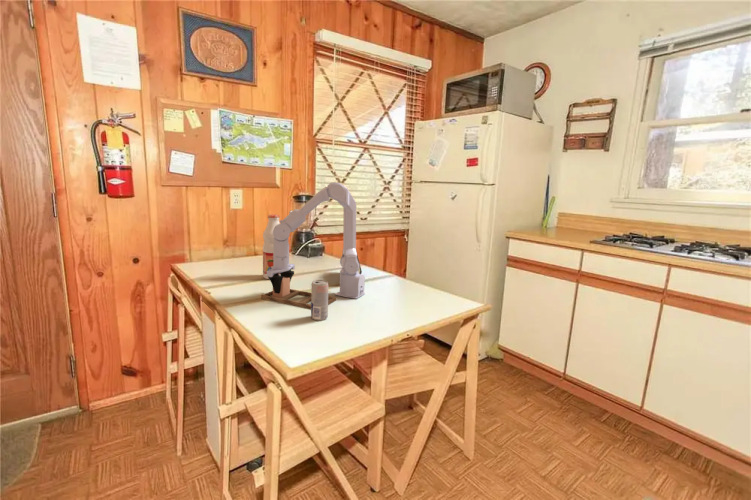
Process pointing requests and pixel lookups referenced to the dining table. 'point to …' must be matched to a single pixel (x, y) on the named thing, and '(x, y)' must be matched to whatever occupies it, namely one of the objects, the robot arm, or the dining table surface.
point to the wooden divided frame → (295, 298)
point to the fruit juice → (269, 244)
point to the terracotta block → (283, 288)
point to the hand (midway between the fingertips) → (281, 291)
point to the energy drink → (319, 300)
